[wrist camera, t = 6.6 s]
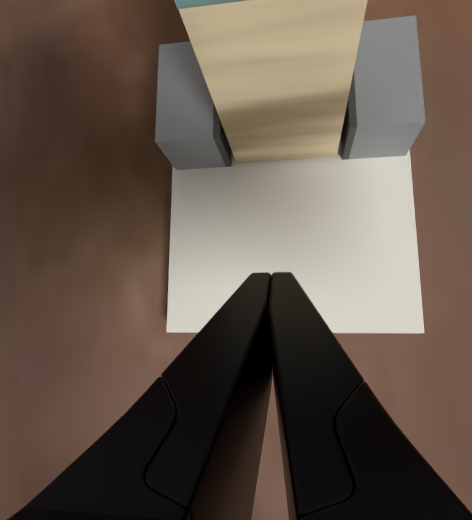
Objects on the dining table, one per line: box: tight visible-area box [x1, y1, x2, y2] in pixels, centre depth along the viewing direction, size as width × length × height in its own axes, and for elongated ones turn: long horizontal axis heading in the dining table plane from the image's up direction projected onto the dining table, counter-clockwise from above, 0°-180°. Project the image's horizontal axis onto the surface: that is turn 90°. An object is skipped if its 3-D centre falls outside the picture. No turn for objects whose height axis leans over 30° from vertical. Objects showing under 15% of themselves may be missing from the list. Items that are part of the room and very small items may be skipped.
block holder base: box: [155, 16, 425, 333], centre depth 19 cm, size 14×12×4 cm
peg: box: [174, 0, 367, 163], centre depth 15 cm, size 5×5×11 cm
